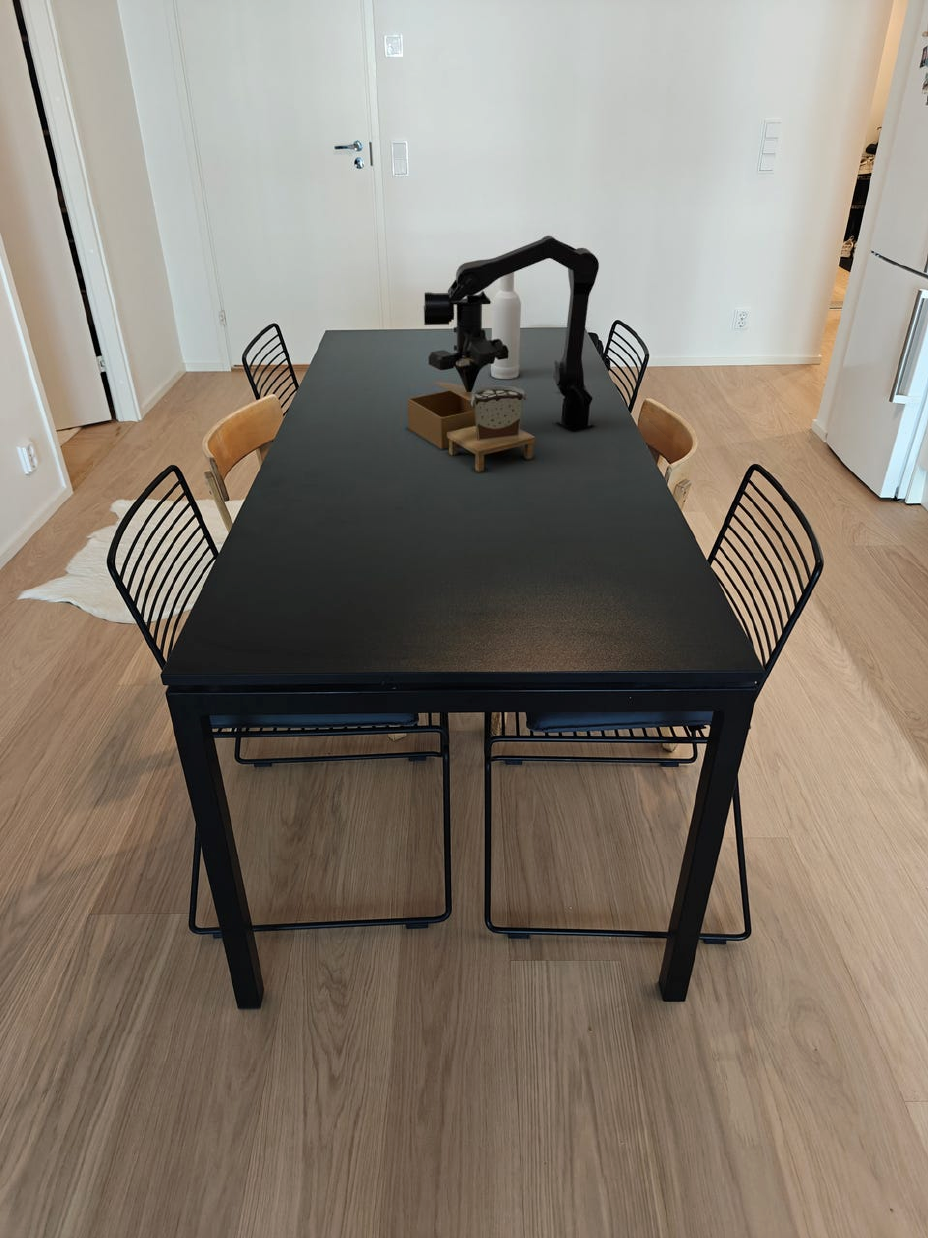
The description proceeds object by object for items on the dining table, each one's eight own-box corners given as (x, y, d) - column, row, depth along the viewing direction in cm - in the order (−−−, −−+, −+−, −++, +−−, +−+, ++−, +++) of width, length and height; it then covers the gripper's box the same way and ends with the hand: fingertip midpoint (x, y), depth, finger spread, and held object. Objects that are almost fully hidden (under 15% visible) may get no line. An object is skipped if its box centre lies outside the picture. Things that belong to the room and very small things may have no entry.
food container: (515, 426, 190) (517, 382, 184) (525, 435, 185) (526, 391, 180) (463, 431, 187) (463, 387, 182) (471, 441, 182) (472, 396, 177)
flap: (459, 386, 205) (460, 384, 205) (495, 404, 194) (495, 402, 194) (435, 382, 201) (435, 381, 201) (470, 401, 190) (470, 399, 189)
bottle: (516, 380, 234) (520, 265, 217) (488, 378, 235) (490, 264, 218) (520, 371, 240) (524, 259, 224) (493, 370, 242) (495, 258, 225)
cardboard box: (460, 417, 209) (460, 387, 205) (495, 436, 198) (495, 406, 194) (408, 428, 203) (407, 398, 199) (441, 449, 192) (441, 418, 188)
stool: (534, 458, 187) (535, 437, 184) (478, 472, 180) (478, 450, 178) (501, 440, 196) (502, 419, 194) (447, 453, 190) (446, 432, 187)
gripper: (452, 338, 179) (452, 408, 188) (523, 326, 188) (520, 394, 196) (426, 326, 187) (428, 395, 196) (496, 315, 195) (494, 381, 204)
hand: (469, 391), depth 198 cm, fingers closed
